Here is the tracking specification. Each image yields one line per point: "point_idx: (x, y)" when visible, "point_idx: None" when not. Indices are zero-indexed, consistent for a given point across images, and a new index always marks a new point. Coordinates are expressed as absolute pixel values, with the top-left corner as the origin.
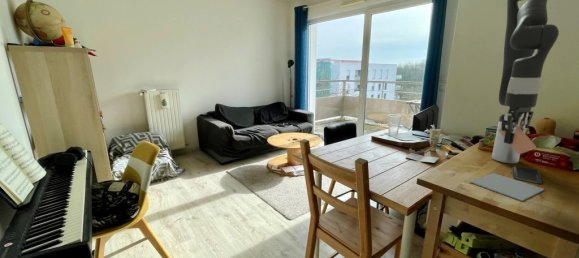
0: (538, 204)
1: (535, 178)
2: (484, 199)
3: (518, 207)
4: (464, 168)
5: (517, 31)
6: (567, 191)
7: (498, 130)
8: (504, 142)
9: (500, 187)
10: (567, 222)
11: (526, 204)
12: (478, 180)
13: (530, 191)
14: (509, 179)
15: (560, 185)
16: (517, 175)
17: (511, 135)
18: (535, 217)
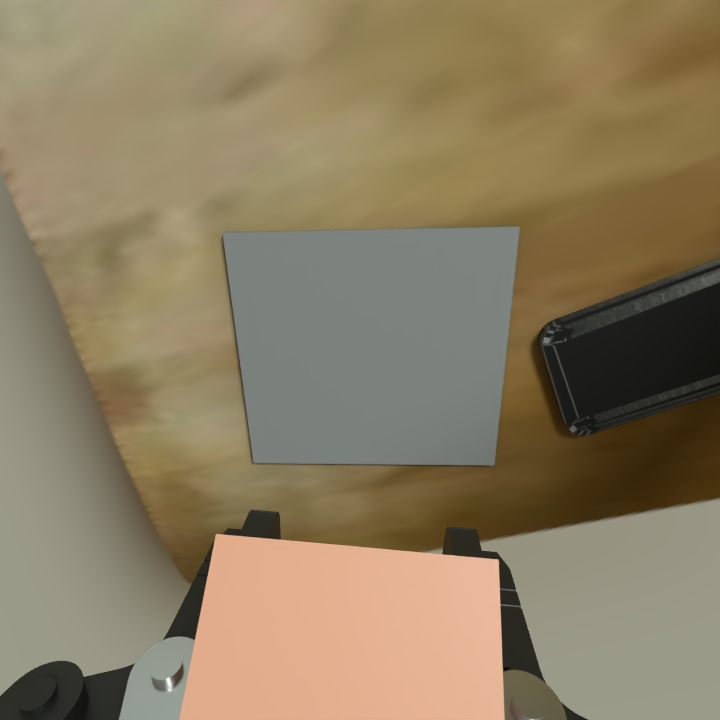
0: (293, 496)
1: (629, 398)
2: (112, 377)
3: (186, 471)
4: (454, 41)
5: None
6: (569, 510)
7: (220, 534)
8: (250, 513)
9: (308, 359)
10: None
11: (246, 475)
12: (290, 249)
13: (396, 445)
14: (483, 332)
15: (638, 477)
16: (600, 329)
17: None
18: (168, 523)
